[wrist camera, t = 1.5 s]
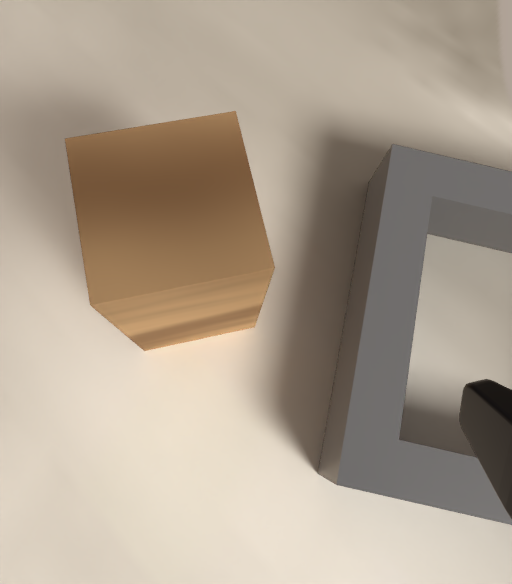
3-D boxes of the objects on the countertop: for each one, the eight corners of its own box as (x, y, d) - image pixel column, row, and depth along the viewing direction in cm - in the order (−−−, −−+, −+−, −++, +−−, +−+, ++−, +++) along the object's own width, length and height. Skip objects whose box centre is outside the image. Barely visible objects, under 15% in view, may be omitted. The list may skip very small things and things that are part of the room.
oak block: (254, 326, 22) (274, 267, 13) (144, 351, 21) (90, 304, 13) (231, 226, 23) (235, 110, 14) (126, 246, 23) (64, 138, 14)
